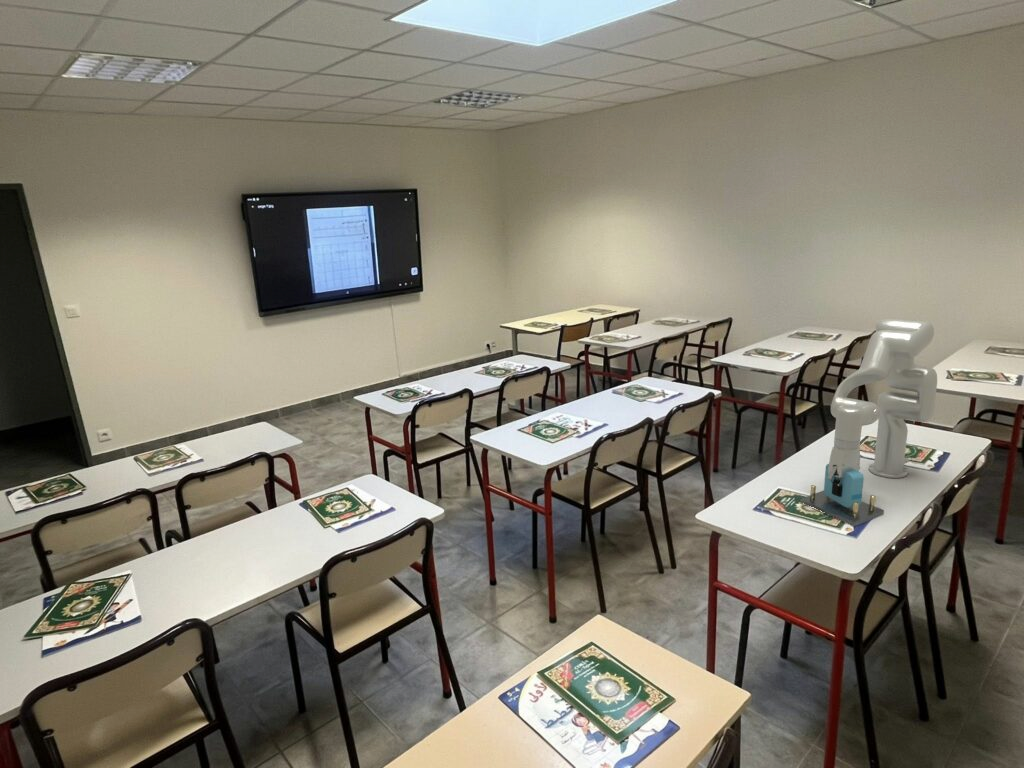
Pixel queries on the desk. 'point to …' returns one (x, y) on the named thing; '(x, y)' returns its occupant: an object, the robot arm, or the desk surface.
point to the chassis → (843, 508)
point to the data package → (846, 488)
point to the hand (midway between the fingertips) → (842, 492)
